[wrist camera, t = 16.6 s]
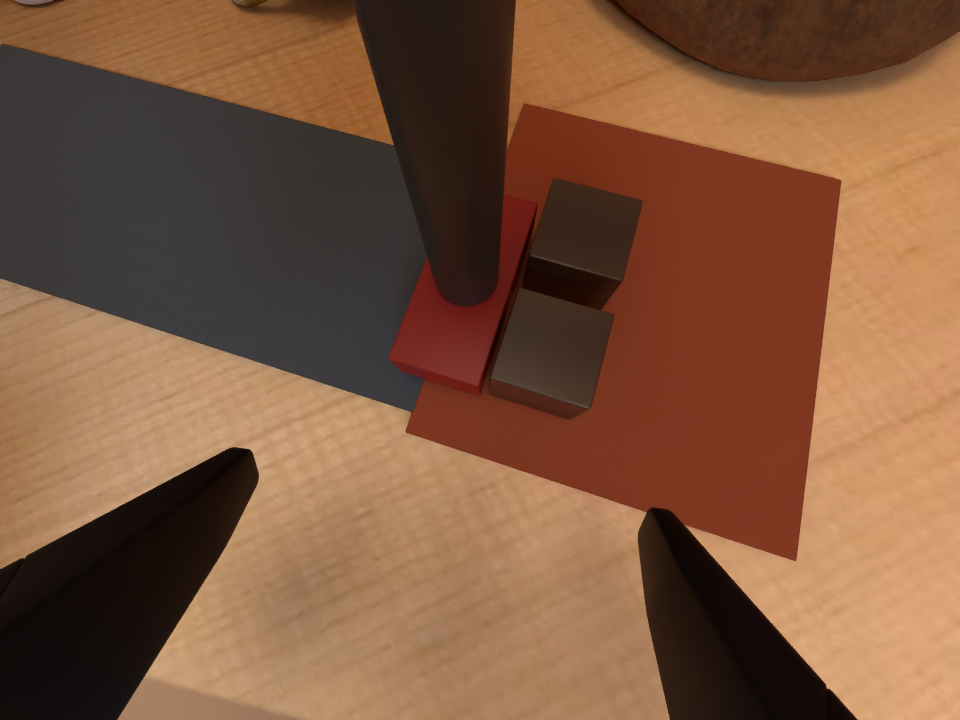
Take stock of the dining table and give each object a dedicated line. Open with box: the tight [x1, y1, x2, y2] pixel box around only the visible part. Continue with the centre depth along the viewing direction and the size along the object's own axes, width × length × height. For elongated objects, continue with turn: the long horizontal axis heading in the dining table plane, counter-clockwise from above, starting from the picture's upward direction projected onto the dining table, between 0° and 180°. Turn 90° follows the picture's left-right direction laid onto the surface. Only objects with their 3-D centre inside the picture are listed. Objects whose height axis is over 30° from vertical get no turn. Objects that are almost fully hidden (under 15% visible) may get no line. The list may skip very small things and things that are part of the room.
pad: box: [406, 104, 841, 561], centre depth 20 cm, size 20×18×1 cm
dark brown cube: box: [522, 178, 643, 310], centre depth 19 cm, size 4×4×4 cm
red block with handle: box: [351, 0, 538, 396], centre depth 13 cm, size 9×4×15 cm, turn 162°
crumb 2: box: [489, 287, 614, 420], centre depth 17 cm, size 4×4×4 cm
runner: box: [0, 44, 427, 412], centre depth 22 cm, size 14×33×1 cm, turn 72°
